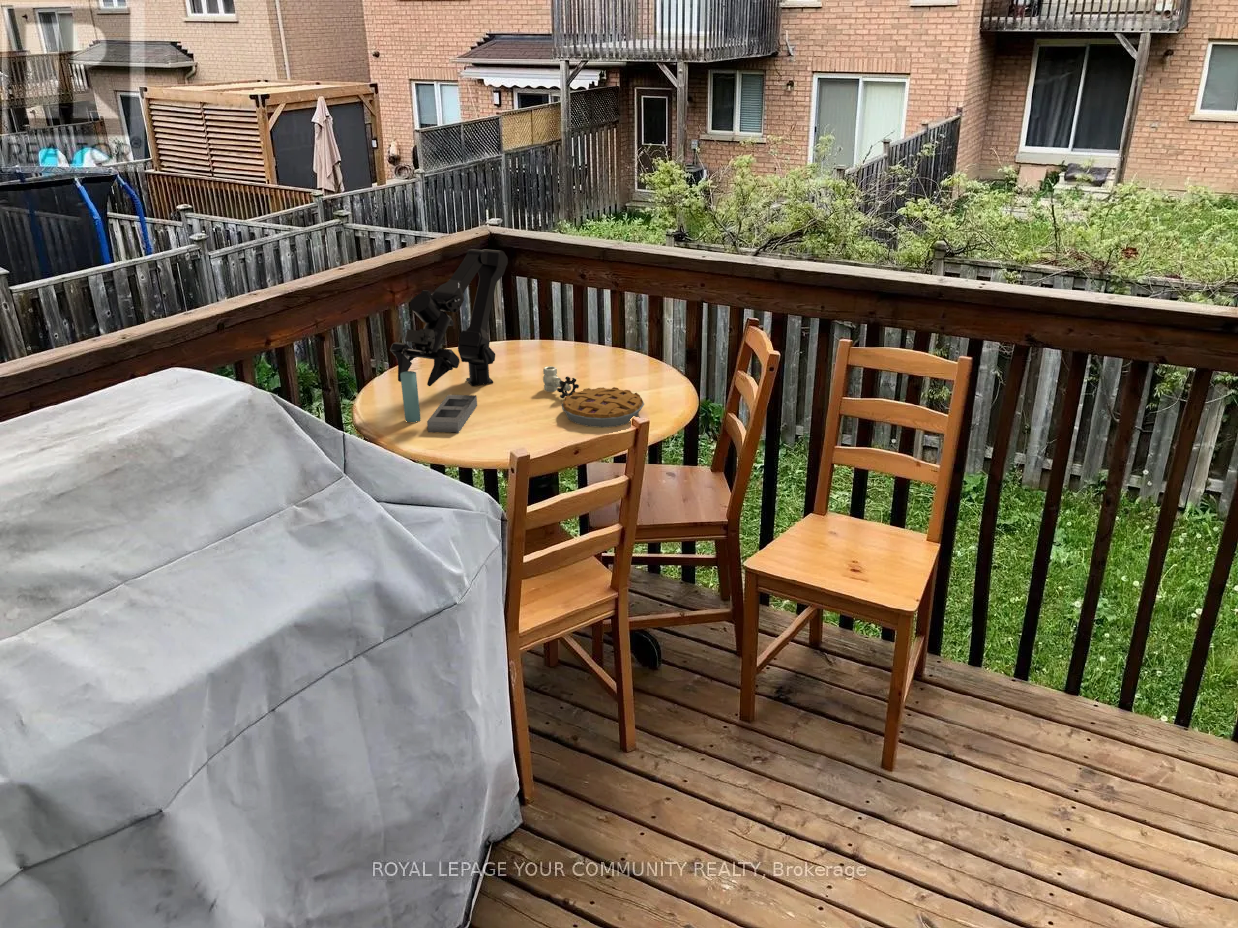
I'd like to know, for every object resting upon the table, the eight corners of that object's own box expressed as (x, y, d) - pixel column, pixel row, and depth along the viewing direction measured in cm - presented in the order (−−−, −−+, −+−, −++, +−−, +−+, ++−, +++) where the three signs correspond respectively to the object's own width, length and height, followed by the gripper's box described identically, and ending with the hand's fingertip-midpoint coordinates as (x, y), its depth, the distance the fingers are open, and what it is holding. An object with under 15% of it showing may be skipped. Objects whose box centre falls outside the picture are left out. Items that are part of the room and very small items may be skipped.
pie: (656, 407, 271) (656, 389, 269) (623, 435, 253) (623, 416, 251) (584, 396, 279) (583, 379, 277) (547, 423, 261) (546, 405, 259)
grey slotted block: (448, 405, 274) (447, 394, 273) (477, 405, 273) (476, 395, 272) (428, 432, 256) (427, 421, 255) (458, 433, 255) (457, 422, 254)
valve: (537, 390, 284) (559, 402, 275) (536, 368, 282) (558, 379, 273) (556, 385, 288) (579, 397, 279) (556, 364, 285) (578, 375, 276)
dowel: (403, 419, 265) (398, 372, 259) (418, 416, 266) (413, 370, 261) (407, 424, 261) (402, 377, 256) (422, 421, 263) (417, 374, 258)
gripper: (390, 312, 263) (368, 364, 258) (450, 319, 256) (429, 373, 251) (410, 334, 273) (390, 384, 268) (468, 341, 265) (449, 393, 261)
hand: (413, 383), depth 261 cm, fingers open, 9 cm apart
